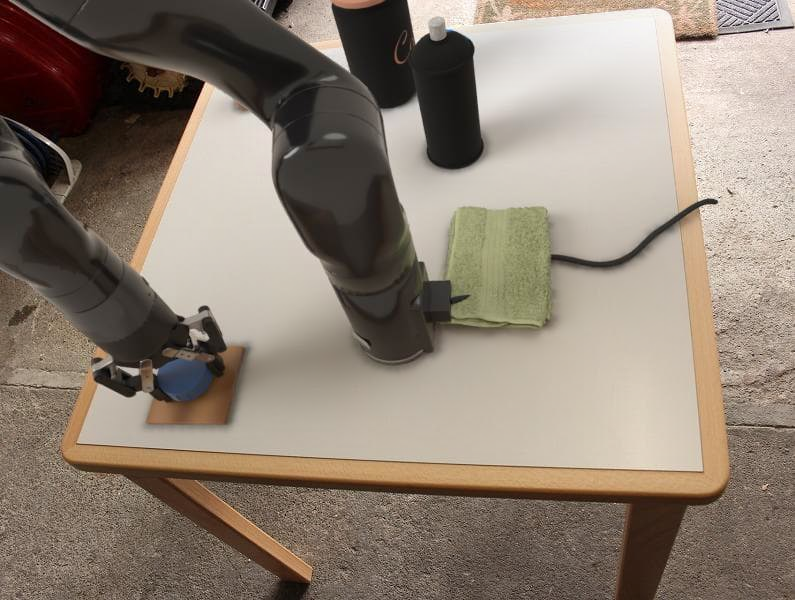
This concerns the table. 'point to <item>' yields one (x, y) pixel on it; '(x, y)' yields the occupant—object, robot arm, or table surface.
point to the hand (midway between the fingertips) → (194, 382)
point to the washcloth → (500, 267)
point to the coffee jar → (378, 46)
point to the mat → (203, 398)
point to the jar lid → (184, 379)
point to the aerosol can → (447, 95)
